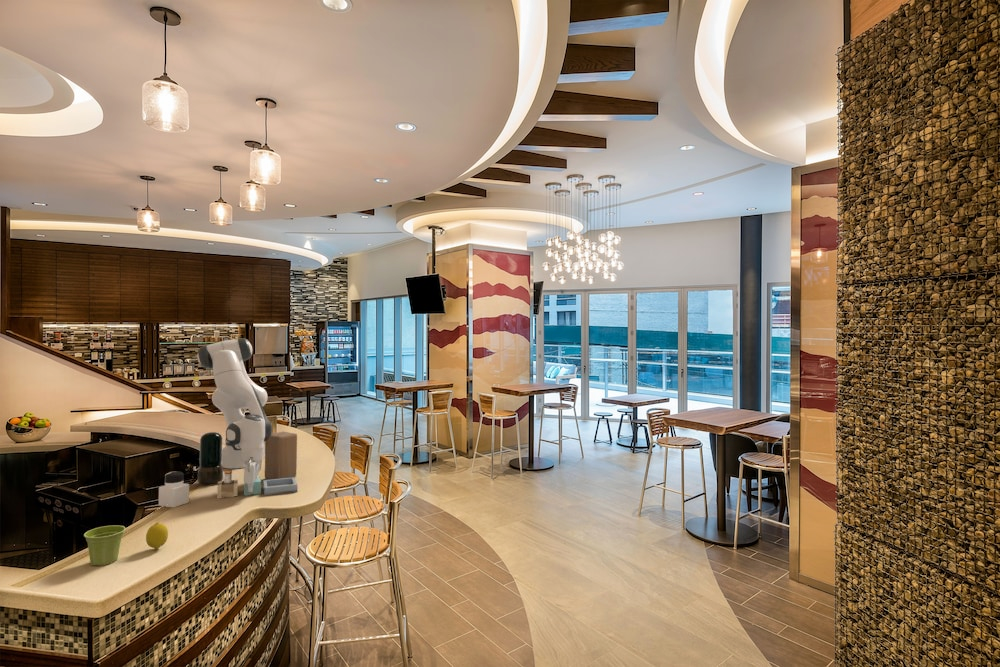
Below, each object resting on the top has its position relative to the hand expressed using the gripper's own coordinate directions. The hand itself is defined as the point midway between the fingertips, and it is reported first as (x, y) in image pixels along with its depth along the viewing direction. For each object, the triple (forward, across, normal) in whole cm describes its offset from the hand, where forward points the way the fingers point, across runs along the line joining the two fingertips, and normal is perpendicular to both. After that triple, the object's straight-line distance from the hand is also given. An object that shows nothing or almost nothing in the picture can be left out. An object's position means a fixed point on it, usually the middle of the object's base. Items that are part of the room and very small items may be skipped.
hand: (252, 488), depth 213 cm
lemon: (+2, -54, +19) cm, 57 cm away
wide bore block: (+2, -1, +9) cm, 9 cm away
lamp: (+2, +19, +19) cm, 27 cm away
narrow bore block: (+2, 0, 0) cm, 2 cm away
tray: (+2, +2, -10) cm, 11 cm away
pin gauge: (+2, -1, +9) cm, 9 cm away
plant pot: (+2, -60, +30) cm, 67 cm away
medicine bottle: (+2, -8, +26) cm, 27 cm away
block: (+2, +21, -9) cm, 23 cm away
